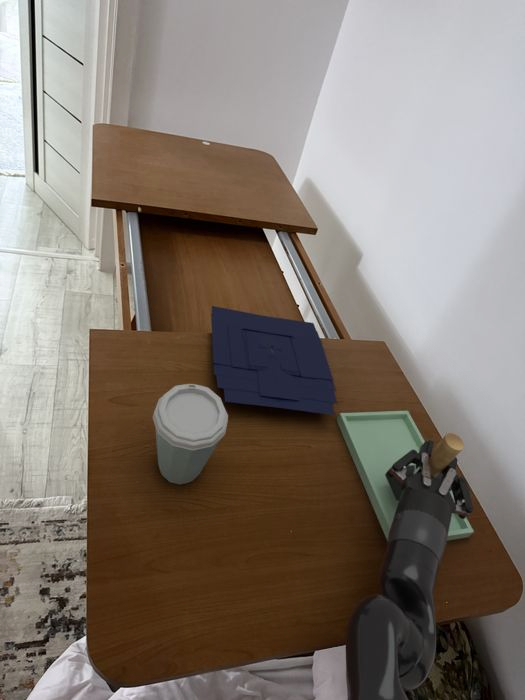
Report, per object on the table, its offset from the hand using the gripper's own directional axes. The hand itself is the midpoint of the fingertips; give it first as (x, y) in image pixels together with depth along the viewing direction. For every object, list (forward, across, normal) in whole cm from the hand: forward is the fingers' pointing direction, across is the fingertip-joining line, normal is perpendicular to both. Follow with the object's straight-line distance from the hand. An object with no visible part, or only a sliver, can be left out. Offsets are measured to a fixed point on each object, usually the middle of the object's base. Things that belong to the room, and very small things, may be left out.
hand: (440, 449), depth 84 cm
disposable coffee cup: (-22, -35, -11) cm, 43 cm away
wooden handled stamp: (-3, 0, -8) cm, 8 cm away
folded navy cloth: (+9, -34, -11) cm, 37 cm away
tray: (0, -2, -11) cm, 11 cm away
